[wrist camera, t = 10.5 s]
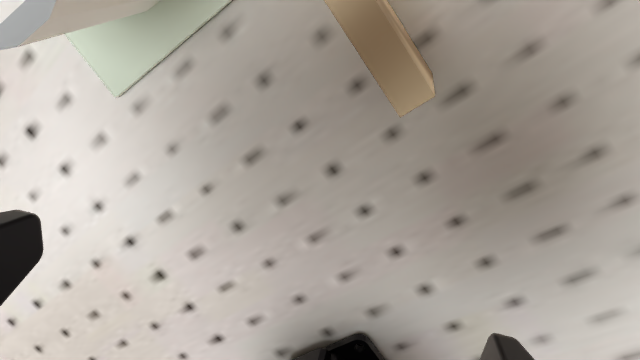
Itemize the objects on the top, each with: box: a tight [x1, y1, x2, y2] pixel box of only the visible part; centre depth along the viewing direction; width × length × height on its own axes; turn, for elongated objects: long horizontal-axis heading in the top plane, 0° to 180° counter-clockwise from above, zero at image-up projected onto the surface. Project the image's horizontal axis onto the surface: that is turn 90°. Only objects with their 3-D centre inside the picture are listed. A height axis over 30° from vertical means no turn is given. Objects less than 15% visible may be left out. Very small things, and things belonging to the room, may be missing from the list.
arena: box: [324, 0, 435, 117], centre depth 17 cm, size 18×18×4 cm
